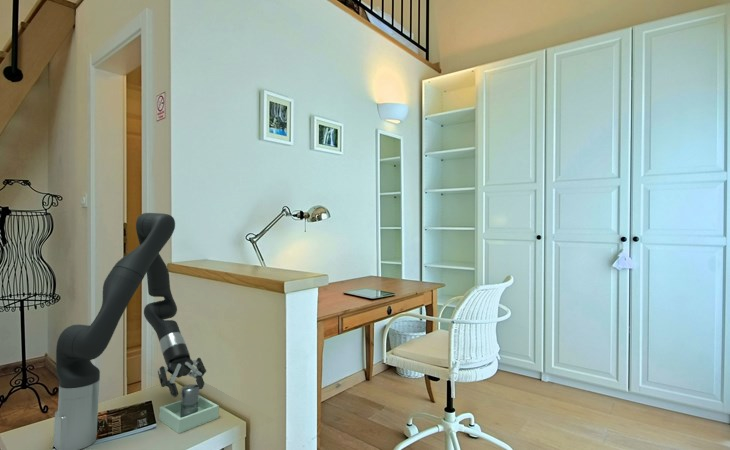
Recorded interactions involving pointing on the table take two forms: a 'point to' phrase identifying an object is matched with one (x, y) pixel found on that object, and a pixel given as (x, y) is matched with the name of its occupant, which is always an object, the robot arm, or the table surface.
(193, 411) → the metal tin
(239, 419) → the table surface
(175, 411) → the tray
